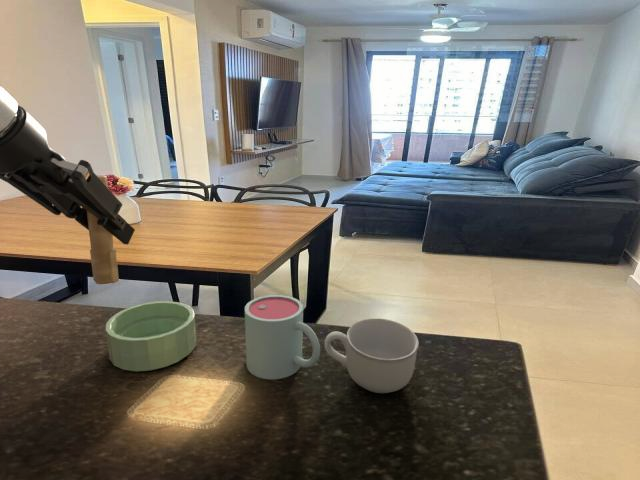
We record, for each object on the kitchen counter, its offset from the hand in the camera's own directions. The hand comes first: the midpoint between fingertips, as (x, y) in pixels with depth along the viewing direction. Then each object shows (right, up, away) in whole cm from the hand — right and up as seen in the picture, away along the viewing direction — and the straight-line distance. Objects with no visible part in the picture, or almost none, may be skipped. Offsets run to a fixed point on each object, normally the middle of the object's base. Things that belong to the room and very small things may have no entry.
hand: (119, 235), depth 60 cm
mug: (+26, -22, +2) cm, 34 cm away
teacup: (+40, -23, -1) cm, 46 cm away
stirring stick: (-1, -7, -2) cm, 7 cm away
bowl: (+3, -20, +5) cm, 21 cm away
